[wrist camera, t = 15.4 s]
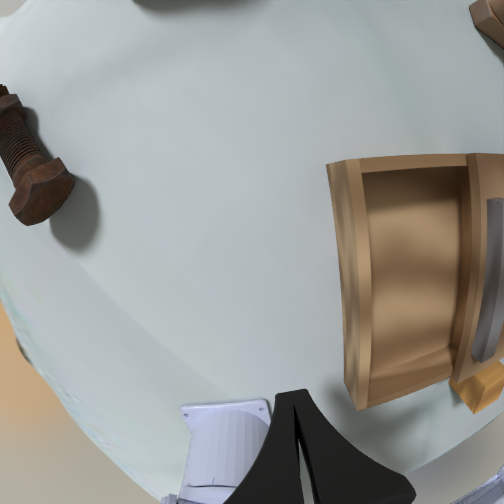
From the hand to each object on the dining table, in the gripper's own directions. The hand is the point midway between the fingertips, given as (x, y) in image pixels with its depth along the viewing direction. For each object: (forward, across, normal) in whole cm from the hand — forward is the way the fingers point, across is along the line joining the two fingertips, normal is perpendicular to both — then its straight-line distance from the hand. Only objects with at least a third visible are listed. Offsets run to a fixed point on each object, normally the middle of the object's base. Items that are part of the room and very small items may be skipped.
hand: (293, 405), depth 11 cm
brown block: (+10, -20, +12) cm, 25 cm away
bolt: (+10, +18, -18) cm, 28 cm away
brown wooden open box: (+9, -11, -1) cm, 15 cm away
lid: (+7, -21, -1) cm, 22 cm away
